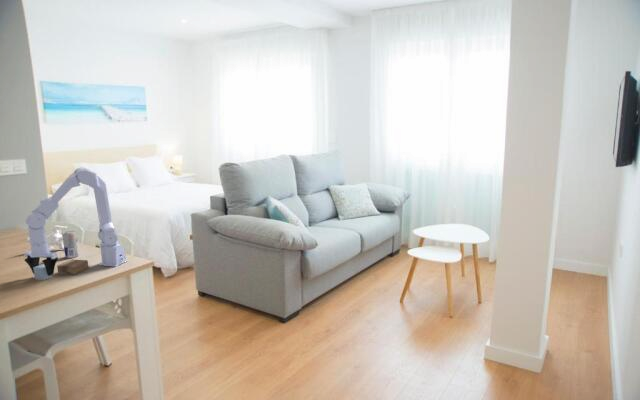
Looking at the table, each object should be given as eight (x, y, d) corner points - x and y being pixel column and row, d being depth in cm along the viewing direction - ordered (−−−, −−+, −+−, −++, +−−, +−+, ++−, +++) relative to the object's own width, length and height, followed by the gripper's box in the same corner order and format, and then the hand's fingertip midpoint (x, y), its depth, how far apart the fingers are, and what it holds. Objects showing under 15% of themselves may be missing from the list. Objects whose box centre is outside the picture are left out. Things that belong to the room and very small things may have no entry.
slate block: (53, 276, 178) (51, 264, 177) (43, 280, 173) (41, 268, 172) (44, 275, 179) (42, 264, 178) (35, 279, 175) (33, 267, 174)
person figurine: (25, 236, 201) (65, 222, 213) (20, 237, 210) (59, 223, 222) (36, 261, 203) (76, 246, 215) (30, 261, 212) (69, 247, 224)
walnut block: (88, 269, 186) (87, 260, 185) (74, 275, 178) (73, 266, 178) (72, 268, 188) (71, 259, 187) (58, 274, 180) (57, 265, 179)
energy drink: (68, 255, 205) (65, 231, 203) (80, 254, 205) (77, 230, 203) (63, 258, 200) (59, 234, 198) (75, 258, 200) (71, 233, 198)
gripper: (15, 244, 171) (20, 276, 174) (44, 246, 168) (49, 279, 170) (31, 239, 178) (36, 270, 181) (59, 241, 174) (64, 272, 177)
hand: (43, 274), depth 176 cm, fingers open, 7 cm apart
